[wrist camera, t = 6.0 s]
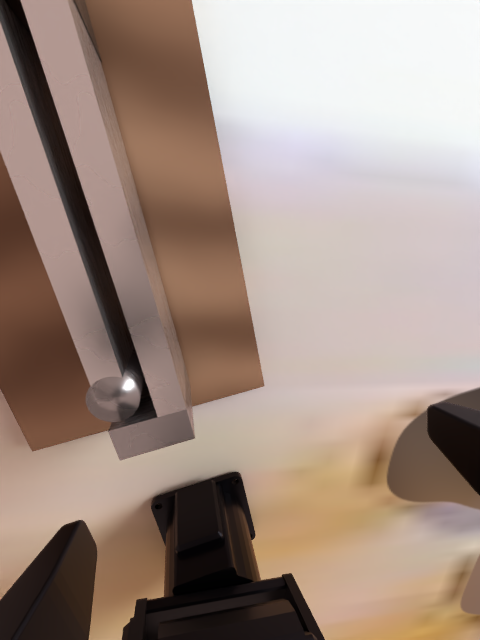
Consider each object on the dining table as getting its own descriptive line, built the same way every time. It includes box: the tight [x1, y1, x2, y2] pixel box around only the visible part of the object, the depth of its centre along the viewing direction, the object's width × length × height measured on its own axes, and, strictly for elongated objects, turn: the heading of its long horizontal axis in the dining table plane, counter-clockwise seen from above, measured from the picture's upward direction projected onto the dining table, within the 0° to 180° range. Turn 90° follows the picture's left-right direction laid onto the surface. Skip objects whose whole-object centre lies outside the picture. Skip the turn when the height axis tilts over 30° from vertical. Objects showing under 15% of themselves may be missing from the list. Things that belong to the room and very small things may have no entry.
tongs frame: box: [21, 0, 195, 460], centre depth 12 cm, size 19×3×5 cm, turn 11°
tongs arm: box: [0, 0, 145, 422], centre depth 12 cm, size 17×2×5 cm, turn 10°
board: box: [0, 0, 264, 451], centre depth 15 cm, size 22×14×1 cm, turn 11°
